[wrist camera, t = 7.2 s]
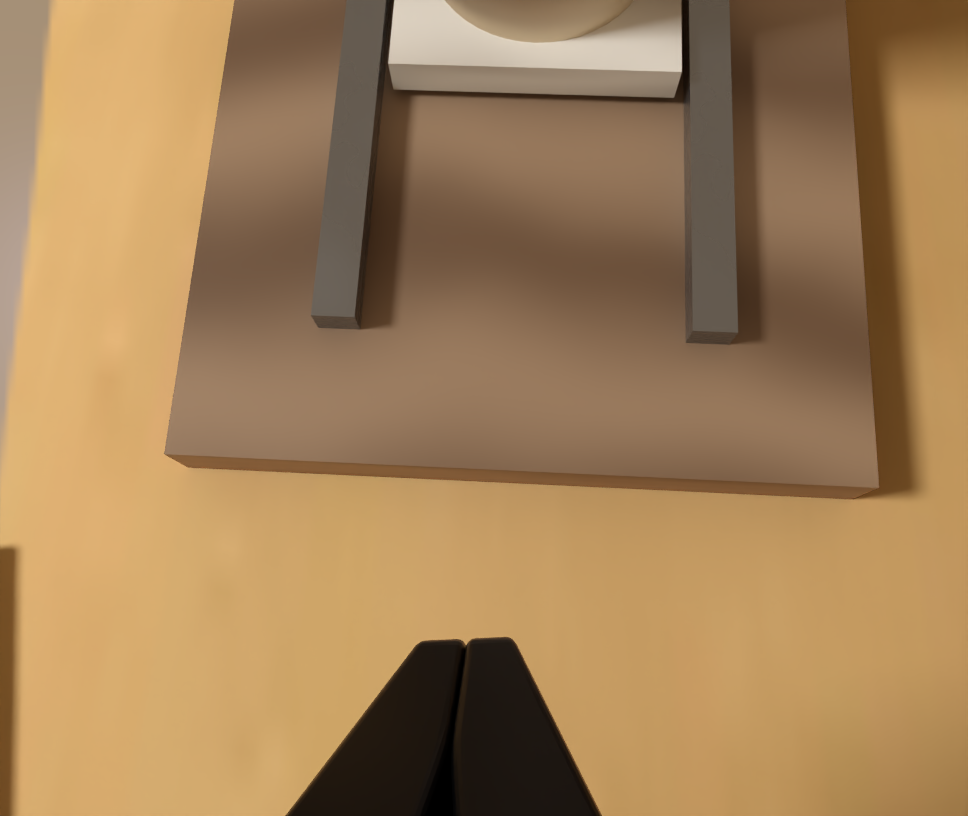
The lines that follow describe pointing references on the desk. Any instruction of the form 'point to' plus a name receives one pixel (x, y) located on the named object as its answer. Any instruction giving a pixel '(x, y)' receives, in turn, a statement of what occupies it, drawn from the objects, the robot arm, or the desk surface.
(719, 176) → the grey slider guide rails
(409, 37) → the knob slider
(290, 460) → the track board
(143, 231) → the desk surface
